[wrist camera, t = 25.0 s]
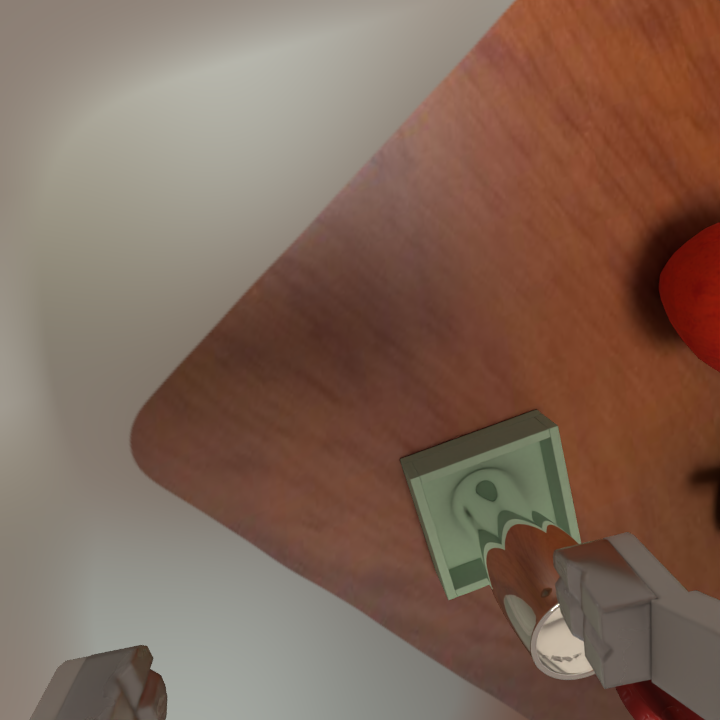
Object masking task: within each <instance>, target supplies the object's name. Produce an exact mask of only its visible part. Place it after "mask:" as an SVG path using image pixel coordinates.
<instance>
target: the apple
mask: <svg viewBox="0 0 720 720" xmlns="http://www.w3.org/2000/svg"><path fill="white" fill-rule="evenodd" d="M659 294H660V298H661V301H662V304H663V306H664V308H665V311H666V313H667V316H668V318H669V321H670V323H671V324H672V326H673V327H674V328H675V330H676V331H677V333H678V334H679V336H680V337H681V339H682V340H683V341H684V342H685V343H686V345H687V346H688V347H689V348H690V349H691V350H692V351H693V353H694V354H695V355H696V356H697V357H698V358H699V359H700V360H702V361H703V362H705V363H706V364H708V365H709V366H711V367H712V368H714V369H715V370H717V371H719V372H720V222H719V223H716V224H714V225H712V226H709V227H707V228H705V229H704V230H702V231H701V232H699V233H698V234H697V235H695V236H694V237H692V238H691V239H690V240H688V241H687V242H686V243H685V244H683V245H682V246H681V247H680V248H679V249H678V250H677V251H676V252H675V253H674V254H673V255H672V256H671V258H670V259H669V260H668V261H667V263H666V265H665V266H664V268H663V270H662V272H661V273H660V279H659Z"/></svg>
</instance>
